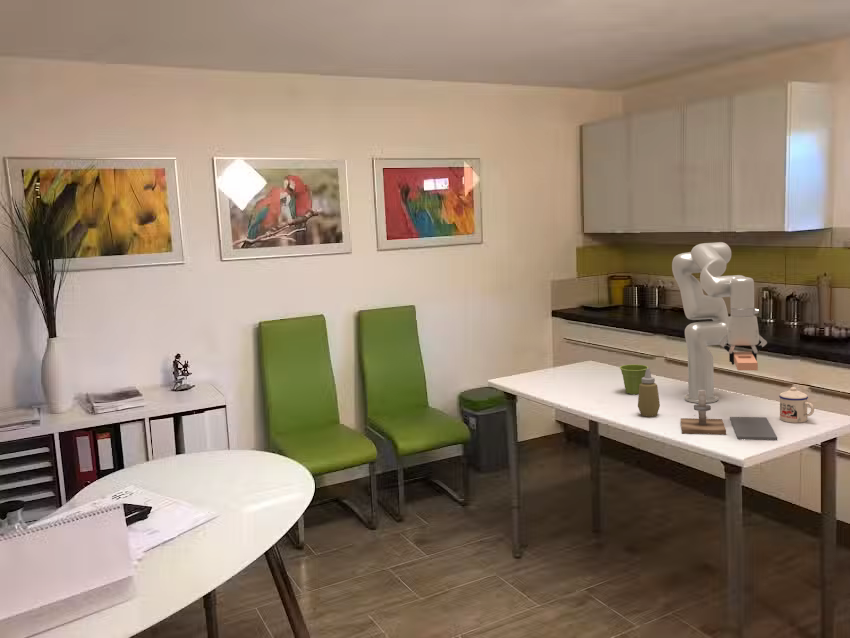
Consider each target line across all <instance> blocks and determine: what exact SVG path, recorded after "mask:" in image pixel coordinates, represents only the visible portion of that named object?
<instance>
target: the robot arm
mask: <svg viewBox="0 0 850 638" xmlns="http://www.w3.org/2000/svg"><path fill="white" fill-rule="evenodd" d="M731 259H732V249H731V247H730V246H729V245H728V244H727V243H725V242H722V241H719V242H704V243H699V244H696V245H695V246H693V247H692V249H691V251H689V252H682V253H679V254H677V255H675V256H674V257H673V259H672V262H671V270H672V275H673V277H674V279H675V281H676V284H677V286H678V288H679V291H680V296H681V302H682V307H683V311H684V315H685V318H687V319H688V320H692V321H696V320H699V321H698V322H692V323H689V324H688V325H686V327H685V329H684V338H685V342H686V348H687V349H686V350H687V375H688V376H687V378H688V379H687V380H688V381H687V382H688V394H686V395H685V396H684V400H685V401H686V402H689V403H694V404H698V390H705V391H706V404H711V403H715V402H717V401H719V396H718V395H715V389H714V388H715V387H714V385H715V381H714V375H715V374H714V355H713V354H712V352H711V351H710V350H709V348H708V346H717V345H718V346H719V345H720V346H721V347H722V348H723V349H724V350H725V351H726V352H728V354H729V358H728V359H729V362H730V363H731V365H732V366H734V365H735V363H734V353H733V352H734V350H735V347H737V346H738V347H739V346H740V347H741V346H742V347H743V346H745V347H746V346H749V347H751V349H752V350H751V352H752V354H753V356H754V357H755V359H756V361H757V360H758V359H757V358H758V355H757V354H758V353H759V351H761V350H762V349H763V347H765V346H766V345H767V344H768V341H767V340H766V339H764V338H763V337H762V336H761V335H760V332H759V331H760V330H759V324H758V318H757V315H756V314H759V313H760V310H759V308H758V309H757V308H755V280H754V279H753V278H752V277H747V276H744V275H741V274H737V275H723V274H724V273H725V272H726V270H727V265H728V263H729V262H730V261H731ZM699 273H700V276H699V279H697V277H695V276H694V275H693V274H699ZM704 292H705V293H706V294H707V295H706V294H704ZM724 298H730V299H729V300H730V316H729V313H728V309H727V305H726V302H725V300H724ZM701 320H705V321H701ZM706 320H707V321H706ZM708 320H712V321H708ZM760 342H761V343H760ZM727 344H728V345H729V346H728V345H727ZM757 362H758V361H757Z"/></svg>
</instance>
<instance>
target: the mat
mask: <svg viewBox="0 0 850 638" xmlns="http://www.w3.org/2000/svg"><path fill="white" fill-rule="evenodd" d="M729 421H730V423H731V426H732V429H733V432H734V434H735V436H736V439H737V440H742V439H743V440H744V439H745V441H746V440H747V441H748V440H749V441H751V440H752V441H778V436H777V434H776V432H775V430H774V429H773V427H772V425H771V423H770V422H769V420H768V417H765V416H729Z"/></svg>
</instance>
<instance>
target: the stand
mask: <svg viewBox="0 0 850 638" xmlns="http://www.w3.org/2000/svg"><path fill="white" fill-rule="evenodd" d="M693 410H694V411H697V412H698V418H693V417H691V418H688V417H687V418H686V417H685V418H684V417H680V427H681V434H684V435H686V434H687V435H723V436H725V435H727V429H726V426H725V423H724V420H723V418H707V412H709V411H711V410H712V407H711V405H710V404H708V403H706V391H705V390H698V403H695V404H694V405H693Z"/></svg>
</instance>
